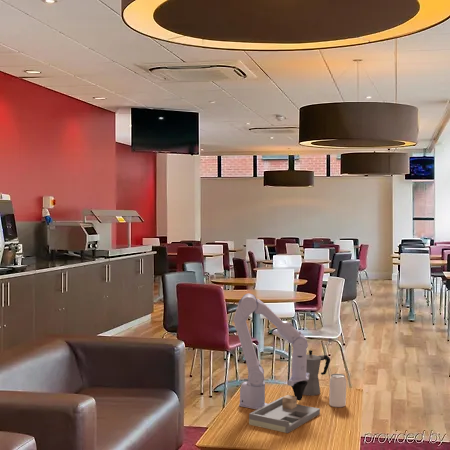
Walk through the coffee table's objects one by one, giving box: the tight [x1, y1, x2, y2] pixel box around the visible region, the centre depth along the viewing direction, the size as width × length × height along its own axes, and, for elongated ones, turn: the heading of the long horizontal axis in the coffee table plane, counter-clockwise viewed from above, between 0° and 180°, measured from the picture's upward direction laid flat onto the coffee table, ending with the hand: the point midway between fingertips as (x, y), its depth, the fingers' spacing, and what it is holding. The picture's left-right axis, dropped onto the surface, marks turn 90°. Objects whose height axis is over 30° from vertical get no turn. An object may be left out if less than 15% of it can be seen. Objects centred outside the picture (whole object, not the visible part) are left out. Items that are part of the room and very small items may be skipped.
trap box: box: [248, 396, 321, 434], centre depth 276 cm, size 16×26×4 cm, turn 147°
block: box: [282, 394, 298, 409], centre depth 284 cm, size 4×4×4 cm
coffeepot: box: [303, 349, 331, 397], centre depth 310 cm, size 15×9×18 cm, turn 103°
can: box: [328, 373, 347, 408], centre depth 294 cm, size 6×6×12 cm
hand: (298, 399), depth 290 cm, fingers closed
